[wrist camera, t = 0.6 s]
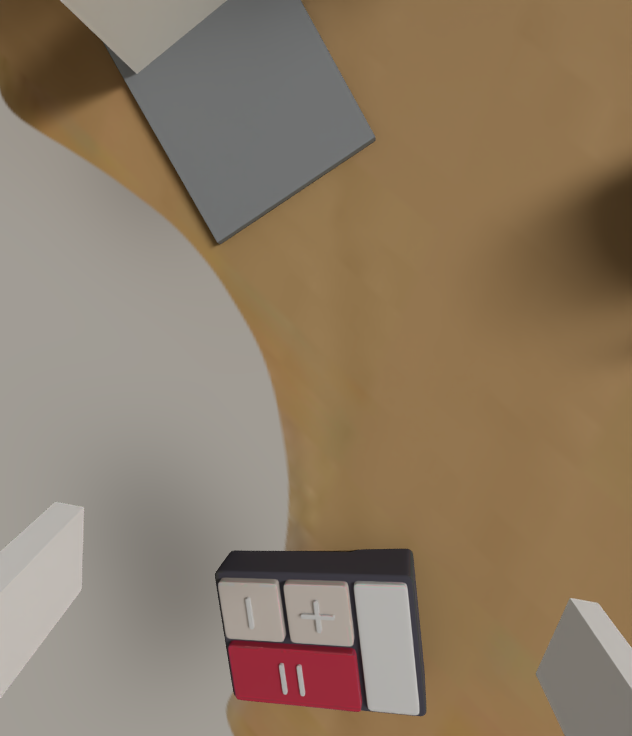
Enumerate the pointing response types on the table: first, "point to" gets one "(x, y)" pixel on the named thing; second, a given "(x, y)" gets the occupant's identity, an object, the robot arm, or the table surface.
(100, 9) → the tile
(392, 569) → the calculator
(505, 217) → the table surface
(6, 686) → the robot arm
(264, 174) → the mat
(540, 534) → the table surface
